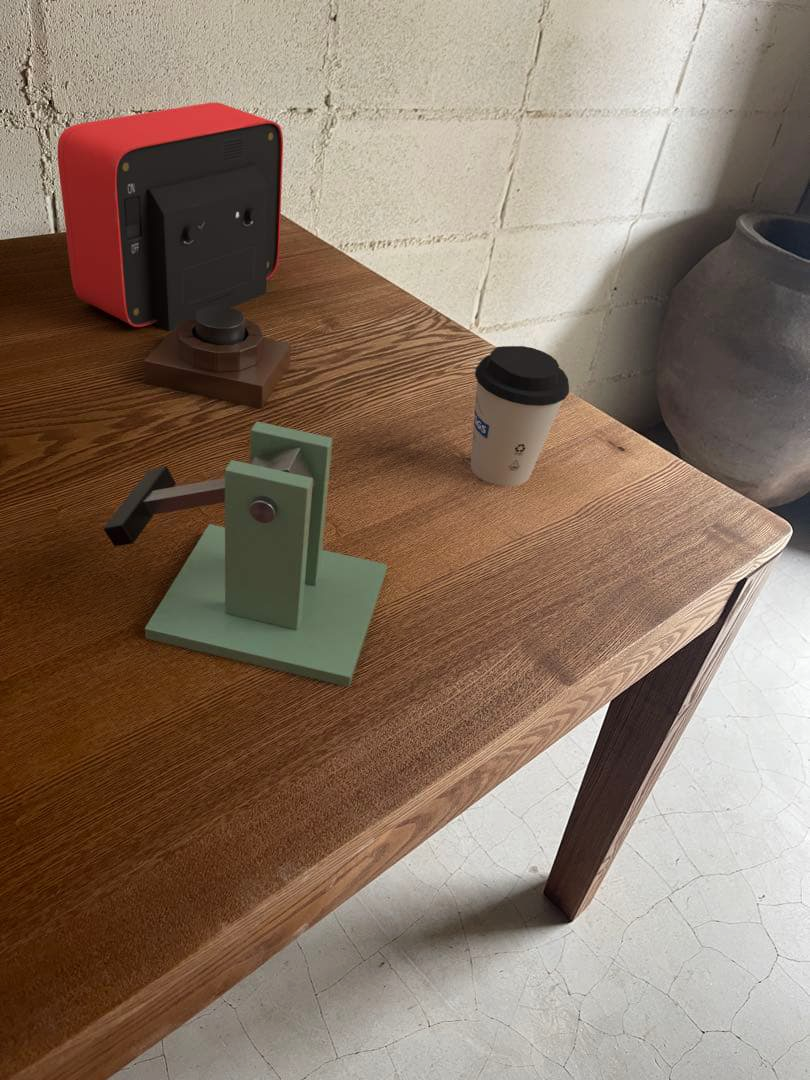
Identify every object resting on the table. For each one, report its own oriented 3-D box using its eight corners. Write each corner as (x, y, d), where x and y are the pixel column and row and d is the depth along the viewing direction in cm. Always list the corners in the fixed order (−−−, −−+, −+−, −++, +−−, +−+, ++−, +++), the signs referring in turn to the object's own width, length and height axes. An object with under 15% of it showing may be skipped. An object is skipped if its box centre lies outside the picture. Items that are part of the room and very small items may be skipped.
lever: (118, 554, 48) (97, 520, 47) (162, 494, 53) (144, 461, 51) (294, 527, 44) (277, 489, 43) (325, 464, 49) (309, 428, 48)
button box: (145, 384, 71) (142, 340, 69) (182, 342, 77) (181, 300, 75) (261, 409, 70) (263, 366, 68) (290, 365, 77) (292, 324, 74)
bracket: (145, 646, 49) (131, 480, 42) (209, 540, 57) (206, 384, 50) (348, 695, 49) (370, 534, 41) (384, 581, 56) (409, 429, 49)
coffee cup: (549, 465, 70) (581, 354, 63) (533, 512, 64) (566, 396, 58) (466, 441, 71) (490, 330, 64) (444, 486, 65) (468, 369, 59)
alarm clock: (293, 286, 89) (302, 124, 79) (143, 346, 76) (131, 159, 66) (226, 256, 93) (226, 97, 83) (71, 308, 79) (49, 125, 69)
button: (187, 341, 70) (187, 321, 69) (206, 321, 73) (205, 302, 72) (235, 351, 70) (235, 331, 69) (251, 331, 73) (251, 311, 72)
